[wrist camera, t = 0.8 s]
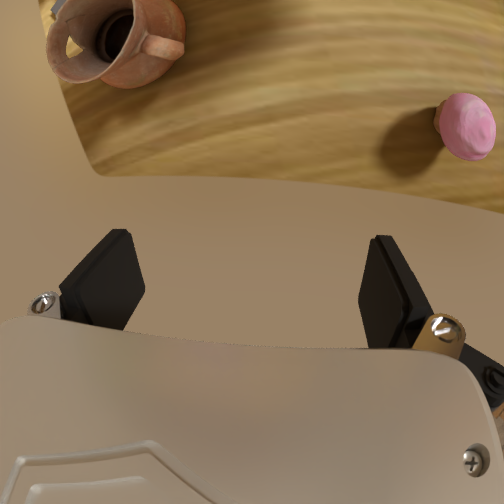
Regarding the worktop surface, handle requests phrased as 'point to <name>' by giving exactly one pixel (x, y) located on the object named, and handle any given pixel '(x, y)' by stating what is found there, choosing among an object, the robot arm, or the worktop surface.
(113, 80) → the ceramic jug
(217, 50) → the worktop surface
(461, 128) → the cupcake
